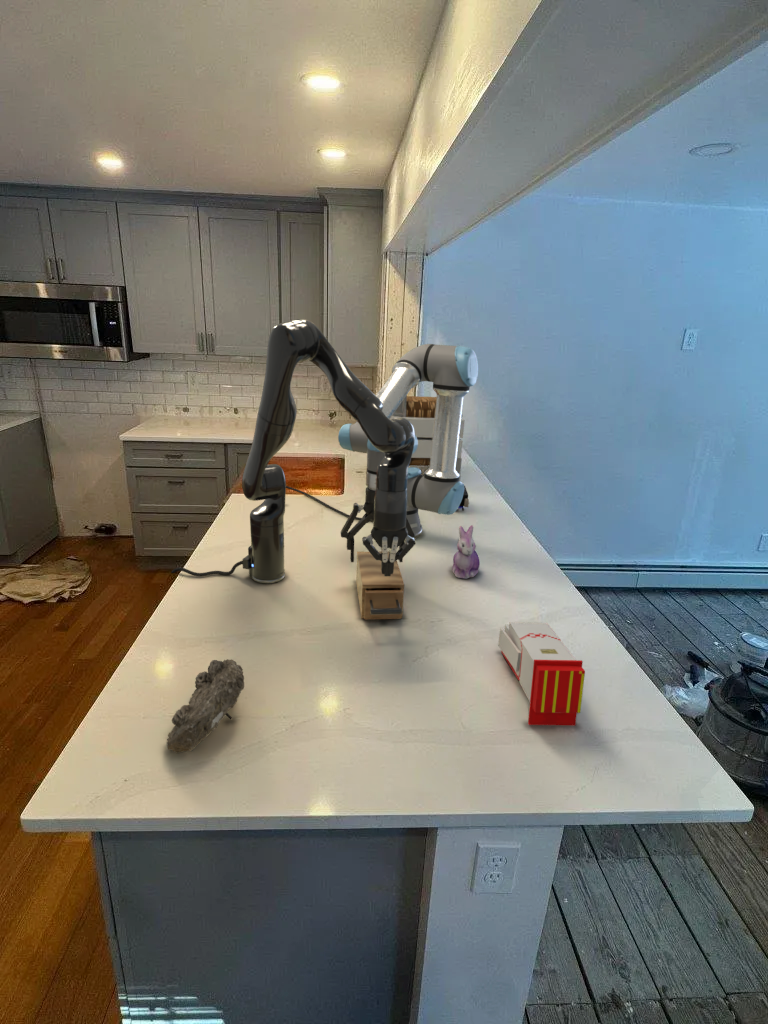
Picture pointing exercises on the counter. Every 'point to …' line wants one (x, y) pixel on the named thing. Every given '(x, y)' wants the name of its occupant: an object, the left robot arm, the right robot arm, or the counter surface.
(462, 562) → the figurine
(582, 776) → the counter surface
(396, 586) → the cabinet
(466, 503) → the figurine character
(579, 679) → the toy
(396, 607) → the drawer
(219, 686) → the fossil
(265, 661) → the counter surface
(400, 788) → the counter surface
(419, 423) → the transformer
